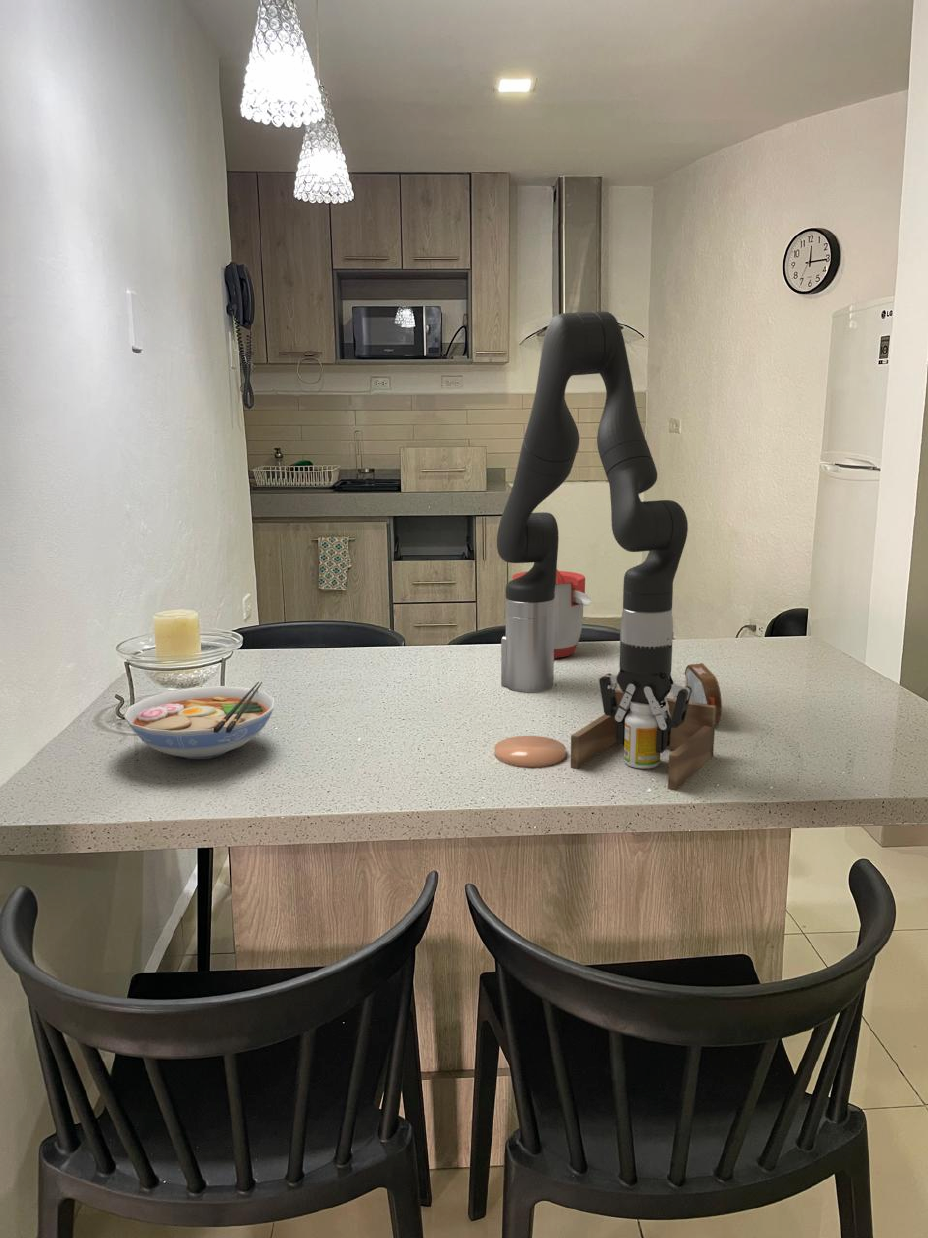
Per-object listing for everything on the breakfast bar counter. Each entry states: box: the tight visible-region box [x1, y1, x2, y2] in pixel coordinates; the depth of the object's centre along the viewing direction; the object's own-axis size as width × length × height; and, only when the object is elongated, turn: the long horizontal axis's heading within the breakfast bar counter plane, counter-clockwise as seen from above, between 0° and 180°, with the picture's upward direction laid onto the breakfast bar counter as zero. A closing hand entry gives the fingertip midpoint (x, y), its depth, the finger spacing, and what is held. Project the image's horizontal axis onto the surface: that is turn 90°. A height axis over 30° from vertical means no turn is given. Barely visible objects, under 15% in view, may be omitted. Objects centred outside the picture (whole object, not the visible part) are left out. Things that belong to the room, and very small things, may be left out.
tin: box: [684, 662, 723, 724], centre depth 164 cm, size 15×3×8 cm, turn 1°
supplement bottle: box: [623, 702, 661, 770], centre depth 142 cm, size 5×5×10 cm
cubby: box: [570, 688, 716, 791], centre depth 143 cm, size 16×16×8 cm
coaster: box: [494, 735, 567, 768], centre depth 147 cm, size 11×11×1 cm
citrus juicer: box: [511, 569, 592, 660], centre depth 204 cm, size 16×17×20 cm
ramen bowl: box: [123, 681, 275, 760], centre depth 148 cm, size 25×23×8 cm
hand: (642, 747), depth 142 cm, fingers closed on supplement bottle, 5 cm apart
